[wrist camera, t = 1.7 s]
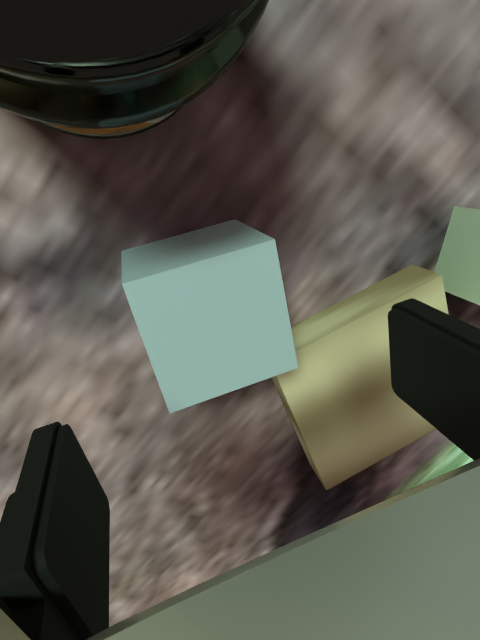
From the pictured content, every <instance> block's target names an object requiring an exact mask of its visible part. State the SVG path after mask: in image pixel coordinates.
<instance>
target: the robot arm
mask: <svg viewBox="0 0 480 640" xmlns="http://www.w3.org/2000/svg"><path fill="white" fill-rule="evenodd" d="M388 331H389V350H390V369H391V385H392V389H393V391H394V392H395V394H396V395H397V396H398V397H399V398H400V399H401V400H403V401H404V402H405V403H406V404H407V405H409V406H410V407H411V408H412V409H413V410H415V411H416V412H417V413H418V414H419V415H421V416H422V417H423V418H424V419H425V420H427V421H428V422H429V423H430V424H431V425H432V426H434V427H435V428H436V429H437V430H438V431H440V432H441V433H442V434H443V435H444V436H446V437H447V438H448V439H449V440H450V441H452V442H453V443H454V444H455V445H456V446H458V447H459V448H460V449H461V450H462V451H464V452H465V453H466V454H467V455H468V456H470V457H471V458H472V459H473V460H474V461H473V462H470V463H468V464H466V465H464V466H461V467H459V468H457V469H455V470H452V471H450V472H448V473H446V474H443V475H441V476H439V477H436V478H434V479H432V480H430V481H427V482H425V483H423V484H421V485H418V486H416V487H414V488H412V489H409V490H407V491H405V492H403V493H400V494H398V495H396V496H394V497H391V498H389V499H387V500H385V501H382V502H380V503H378V504H376V505H374V506H371V507H369V508H367V509H365V510H362V511H360V512H358V513H356V514H353V515H351V516H349V517H347V518H344V519H342V520H340V521H338V522H336V523H333V524H331V525H329V526H327V527H324V528H322V529H320V530H318V531H316V532H313V533H311V534H309V535H307V536H304V537H302V538H300V539H298V540H296V541H293V542H291V543H289V544H287V545H285V546H282V547H280V548H278V549H276V550H274V551H271V552H269V553H267V554H265V555H263V556H260V557H258V558H256V559H254V560H252V561H249V562H247V563H245V564H243V565H241V566H238V567H236V568H234V569H232V570H230V571H227V572H225V573H223V574H221V575H219V576H216V577H214V578H212V579H210V580H208V581H205V582H203V583H201V584H199V585H197V586H195V587H192V588H190V589H188V590H186V591H184V592H182V593H180V594H178V595H175V596H173V597H171V598H169V599H167V600H165V601H163V602H161V603H159V604H157V605H154V606H152V607H150V608H148V609H146V610H144V611H142V612H140V613H138V614H135V615H133V616H131V617H129V618H127V619H125V620H123V621H121V622H119V623H117V624H115V625H113V626H111V627H109V525H110V509H109V503H108V499H107V496H106V494H105V492H104V490H103V489H102V487H101V485H100V483H99V481H98V479H97V477H96V475H95V473H94V471H93V469H92V467H91V465H90V464H89V462H88V460H87V458H86V456H85V454H84V452H83V450H82V448H81V446H80V444H79V442H78V440H77V439H76V437H75V435H74V433H73V431H72V429H71V427H70V426H69V425H68V424H66V425H63V426H62V425H61V424H60V423H59V422H55V423H52V424H49V425H46V426H43V427H41V428H38V429H35V430H34V431H33V433H32V436H31V439H30V443H29V446H28V450H27V453H26V457H25V460H24V463H23V467H22V470H21V474H20V477H19V481H18V484H17V487H16V491H15V493H13V494H11V495H10V496H9V498H8V500H7V502H6V506H5V509H4V512H3V515H2V519H1V522H0V640H480V329H478V328H476V327H474V326H472V325H470V324H468V323H466V322H463V321H461V320H459V319H457V318H455V317H453V316H451V315H448V314H446V313H444V312H442V311H440V310H438V309H436V308H433V307H431V306H429V305H427V304H425V303H423V302H421V301H418V300H416V299H413V298H411V299H407V300H405V301H402V302H399V303H396V304H394V305H393V306H392V308H391V311H389V312H388Z"/></svg>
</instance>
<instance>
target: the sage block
mask: <svg viewBox="0 0 480 640" xmlns="http://www.w3.org/2000/svg"><path fill="white" fill-rule="evenodd" d="M435 273H438V274H441V275H442V278H443V284H444V290H445V292H448V293H450V294H453V295H455V296H458V297H460V298H463V299H465V300H468V301H470V302H472V303H475V304H477V305H480V210H478V209H471V208H463V207H456V206H454V209H453V213H452V216H451V219H450V223H449V226H448V229H447V233H446V236H445V239H444V243H443V246H442V249H441V253H440V256H439V259H438V263H437V266H436V269H435Z"/></svg>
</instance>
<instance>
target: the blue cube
mask: <svg viewBox="0 0 480 640" xmlns="http://www.w3.org/2000/svg"><path fill="white" fill-rule="evenodd" d="M122 285H123V288H124V291H125V294H126V296H127V299H128V302H129V304H130V307H131V310H132V313H133V315H134V318H135V321H136V323H137V326H138V329H139V332H140V334H141V337H142V340H143V342H144V345H145V348H146V351H147V353H148V356H149V359H150V361H151V364H152V367H153V369H154V372H155V375H156V378H157V380H158V383H159V386H160V388H161V391H162V394H163V397H164V399H165V402H166V405H167V407H168V410H169V413H172V412H175V411H178V410H181V409H184V408H186V407H189V406H192V405H195V404H198V403H200V402H203V401H206V400H209V399H212V398H215V397H217V396H220V395H223V394H226V393H229V392H231V391H234V390H237V389H240V388H243V387H246V386H248V385H251V384H254V383H257V382H260V381H263V380H265V379H268V378H271V377H274V376H277V375H279V374H282V373H285V372H288V371H291V370H294V369H296V368H298V364H297V358H296V353H295V347H294V342H293V336H292V331H291V325H290V320H289V314H288V308H287V303H286V297H285V292H284V286H283V281H282V275H281V270H280V264H279V259H278V253H277V248H276V242H275V239H274V238H272V237H270V236H268V235H266V234H264V233H262V232H260V231H258V230H256V229H254V228H252V227H250V226H248V225H246V224H244V223H242V222H240V221H238V220H236V219H234V220H230V221H227V222H223V223H219V224H216V225H212V226H209V227H205V228H202V229H198V230H194V231H191V232H187V233H184V234H180V235H176V236H173V237H169V238H166V239H162V240H159V241H155V242H151V243H148V244H144V245H141V246H137V247H133V248H130V249H126V250H123V251H122Z"/></svg>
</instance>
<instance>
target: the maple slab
mask: <svg viewBox="0 0 480 640" xmlns="http://www.w3.org/2000/svg"><path fill="white" fill-rule="evenodd" d="M411 298H413V299H416V300H418V301H421V302H423V303H425V304H427V305H429V306H431V307H433V308H436V309H438V310H440V311H442V312H444V313H446V314H448V308H447V302H446V296H445V290H444V284H443V278H442V275H441V274H438V273H435V272H432V271H429V270H426V269H424V268H421V267H418V266H415V265H410V266H408V267H406V268H404V269H403V270H401V271H399V272H397V273H395V274H393V275H391V276H389V277H387V278H385V279H383V280H381V281H379V282H377V283H375V284H373V285H371V286H370V287H368V288H366V289H364V290H362V291H360V292H358V293H356V294H354V295H352V296H350V297H348V298H346V299H344V300H342V301H340V302H339V303H337V304H335V305H333V306H331V307H329V308H327V309H325V310H323V311H321V312H319V313H317V314H315V315H313V316H311V317H309V318H307V319H306V320H304V321H302V322H300V323H298V324H296V325H294V326H292V327H291V331H292V336H293V342H294V347H295V353H296V358H297V364H298V368H296V369H294V370H291V371H288V372H285V373H282V374H279V375H277V376H274V377H271V378H272V380H273V382H274V385H275V387H276V389H277V391H278V393H279V396H280V398H281V400H282V402H283V405H284V407H285V409H286V411H287V414H288V416H289V418H290V420H291V423H292V425H293V427H294V429H295V432H296V434H297V436H298V438H299V441H300V443H301V445H302V447H303V450H304V452H305V454H306V456H307V459H308V461H309V463H310V465H311V467H312V468H313V470H314V471H315V473H316V475H317V476H318V478H319V479H320V481H321V483H322V484H323V486H324V488H325V489H326V490H328V489H330V488H332V487H334V486H335V485H337V484H339V483H341V482H343V481H344V480H346V479H348V478H350V477H351V476H353V475H355V474H357V473H359V472H360V471H362V470H364V469H366V468H368V467H369V466H371V465H373V464H375V463H376V462H378V461H380V460H382V459H384V458H385V457H387V456H389V455H391V454H393V453H394V452H396V451H398V450H400V449H401V448H403V447H405V446H407V445H409V444H410V443H412V442H414V441H416V440H418V439H419V438H421V437H423V436H425V435H426V434H428V433H430V432H432V431H434V430H435V429H436V428H435V427H434V426H432V425H431V424H430V423H429V422H428V421H427V420H425V419H424V418H423V417H422V416H421V415H419V414H418V413H417V412H416V411H415V410H413V409H412V408H411V407H410V406H409V405H407V404H406V403H405V402H404V401H403V400H401V399H400V398H399V397H398V396H397V395H396V394H395V392H394V391H393V389H392V385H391V369H390V350H389V331H388V312H389V311H391V308H392V306H393V305H394V304H396V303H399V302H402V301H405V300H407V299H411ZM448 315H449V314H448Z"/></svg>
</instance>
